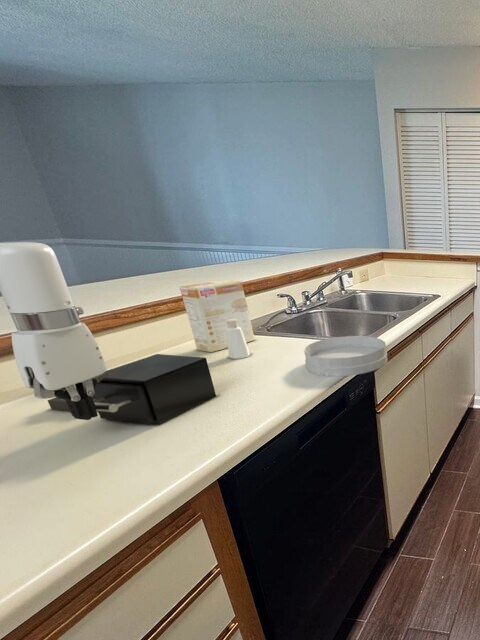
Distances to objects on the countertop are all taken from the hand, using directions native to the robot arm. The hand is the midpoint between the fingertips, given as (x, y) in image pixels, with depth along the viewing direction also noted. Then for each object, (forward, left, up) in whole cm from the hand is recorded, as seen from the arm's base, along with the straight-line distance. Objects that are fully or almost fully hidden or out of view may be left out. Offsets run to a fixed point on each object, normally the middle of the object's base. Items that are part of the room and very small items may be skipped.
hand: (86, 417), depth 78 cm
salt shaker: (-10, +49, -5) cm, 50 cm away
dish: (+24, +50, -5) cm, 56 cm away
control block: (-17, +15, -5) cm, 23 cm away
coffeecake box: (-22, +58, -5) cm, 62 cm away
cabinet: (0, +14, -5) cm, 15 cm away
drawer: (0, +10, -4) cm, 11 cm away
